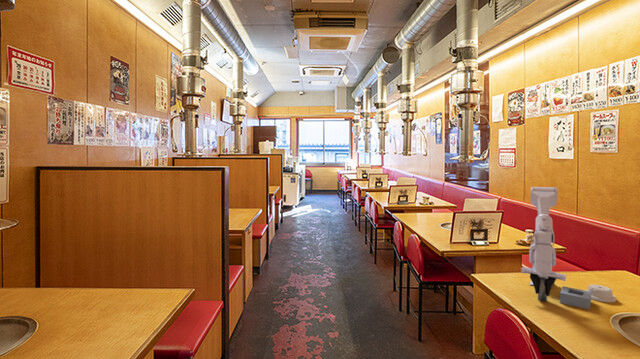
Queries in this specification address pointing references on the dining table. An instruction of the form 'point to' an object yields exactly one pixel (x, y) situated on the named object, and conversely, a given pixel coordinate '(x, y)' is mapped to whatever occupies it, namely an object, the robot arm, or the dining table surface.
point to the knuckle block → (575, 297)
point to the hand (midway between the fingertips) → (542, 294)
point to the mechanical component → (601, 293)
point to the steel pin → (542, 289)
